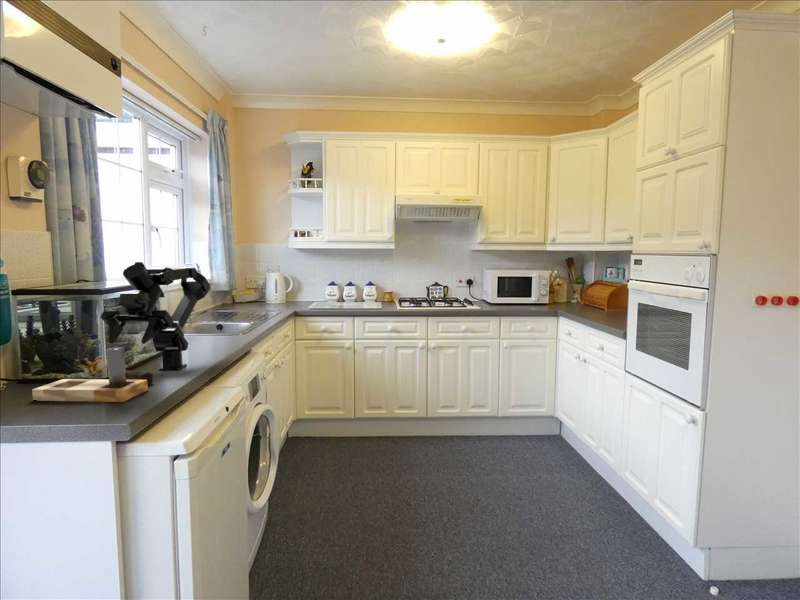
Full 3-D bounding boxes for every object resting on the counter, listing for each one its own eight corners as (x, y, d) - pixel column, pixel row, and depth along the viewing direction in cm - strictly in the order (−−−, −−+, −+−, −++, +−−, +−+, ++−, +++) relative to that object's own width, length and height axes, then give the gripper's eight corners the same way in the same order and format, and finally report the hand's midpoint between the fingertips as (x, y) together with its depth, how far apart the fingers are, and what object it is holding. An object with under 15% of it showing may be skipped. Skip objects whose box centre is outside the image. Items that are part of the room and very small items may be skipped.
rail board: (64, 389, 125) (63, 378, 125) (147, 390, 123) (147, 379, 123) (33, 400, 115) (32, 389, 115) (123, 401, 114) (122, 390, 113)
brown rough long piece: (154, 384, 130) (153, 368, 130) (141, 387, 127) (140, 372, 126) (115, 377, 138) (114, 362, 138) (102, 380, 135) (101, 365, 134)
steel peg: (111, 394, 120) (108, 348, 119) (128, 392, 121) (125, 346, 120) (108, 398, 116) (104, 350, 115) (125, 396, 118) (122, 349, 116)
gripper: (101, 283, 127) (77, 327, 117) (165, 282, 127) (146, 326, 117) (121, 306, 136) (99, 349, 126) (180, 306, 135) (164, 348, 126)
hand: (126, 343), depth 123 cm, fingers open, 9 cm apart
